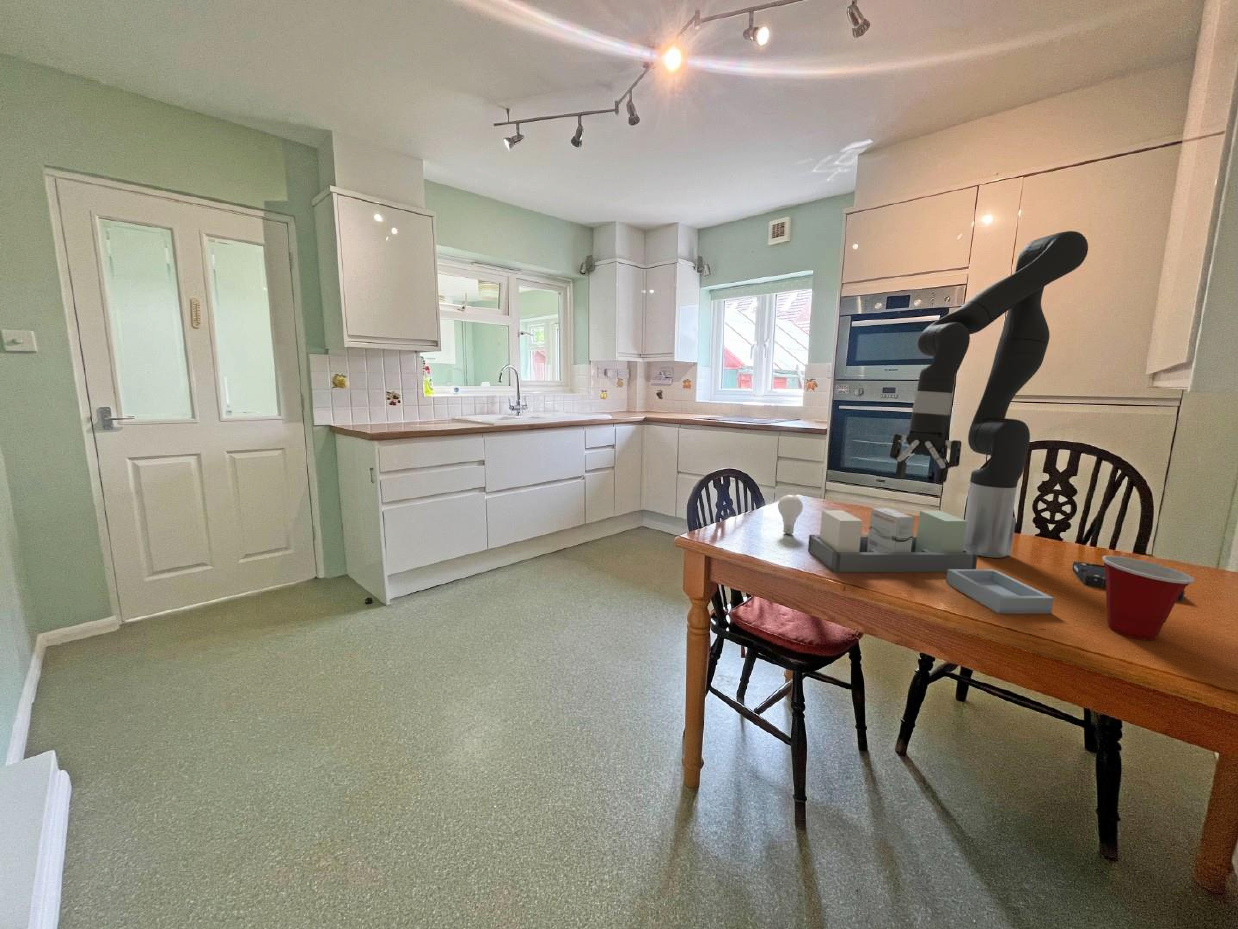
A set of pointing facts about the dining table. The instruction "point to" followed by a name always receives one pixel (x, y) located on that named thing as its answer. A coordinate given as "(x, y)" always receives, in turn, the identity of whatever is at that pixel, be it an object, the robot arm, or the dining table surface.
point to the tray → (999, 591)
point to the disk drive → (1096, 575)
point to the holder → (890, 558)
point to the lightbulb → (789, 511)
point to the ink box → (890, 531)
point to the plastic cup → (1140, 595)
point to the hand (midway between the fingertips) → (919, 480)
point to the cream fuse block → (840, 530)
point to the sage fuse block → (940, 532)
